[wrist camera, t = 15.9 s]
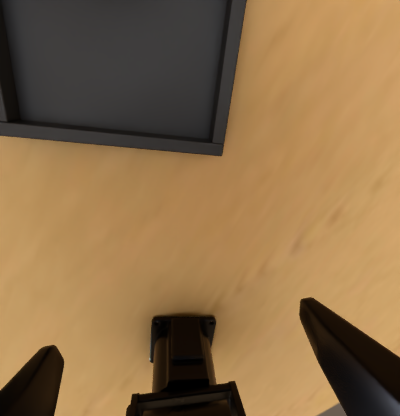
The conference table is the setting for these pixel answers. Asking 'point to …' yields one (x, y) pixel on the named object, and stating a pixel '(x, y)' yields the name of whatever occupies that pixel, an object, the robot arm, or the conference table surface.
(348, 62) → the conference table surface
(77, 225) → the conference table surface
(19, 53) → the steel tray
